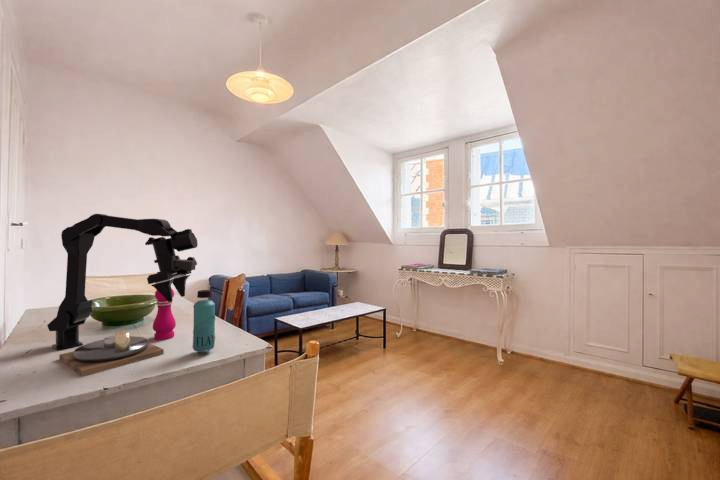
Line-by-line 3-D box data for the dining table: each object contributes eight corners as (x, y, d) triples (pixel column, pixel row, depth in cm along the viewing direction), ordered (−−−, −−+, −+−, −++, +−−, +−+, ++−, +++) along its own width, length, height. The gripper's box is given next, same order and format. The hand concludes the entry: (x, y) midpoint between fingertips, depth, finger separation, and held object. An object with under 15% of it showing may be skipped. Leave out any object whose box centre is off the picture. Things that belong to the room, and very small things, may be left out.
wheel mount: (59, 359, 96) (59, 354, 96) (135, 341, 112) (135, 337, 112) (82, 376, 85) (82, 370, 85) (163, 354, 101) (163, 349, 101)
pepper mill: (164, 341, 113) (165, 284, 113) (147, 339, 114) (147, 283, 114) (180, 335, 120) (180, 281, 120) (163, 333, 122) (164, 281, 121)
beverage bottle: (192, 357, 98) (192, 292, 98) (192, 350, 104) (192, 289, 104) (215, 354, 101) (216, 291, 101) (214, 347, 107) (215, 288, 107)
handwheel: (64, 353, 96) (64, 330, 96) (133, 337, 111) (133, 318, 111) (85, 367, 86) (86, 342, 86) (158, 348, 101) (158, 326, 101)
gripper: (177, 250, 102) (189, 298, 102) (200, 248, 120) (210, 288, 121) (140, 259, 100) (153, 307, 101) (169, 255, 119) (180, 296, 120)
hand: (177, 298), depth 111 cm, fingers open, 9 cm apart
